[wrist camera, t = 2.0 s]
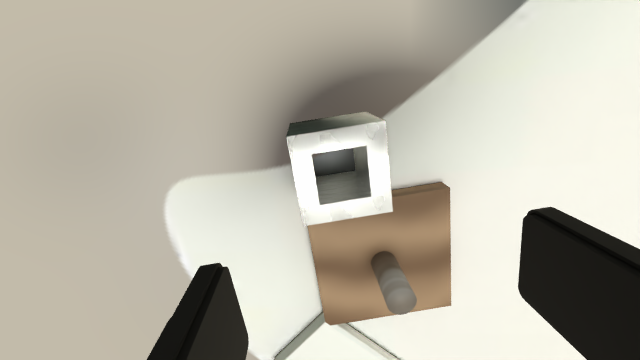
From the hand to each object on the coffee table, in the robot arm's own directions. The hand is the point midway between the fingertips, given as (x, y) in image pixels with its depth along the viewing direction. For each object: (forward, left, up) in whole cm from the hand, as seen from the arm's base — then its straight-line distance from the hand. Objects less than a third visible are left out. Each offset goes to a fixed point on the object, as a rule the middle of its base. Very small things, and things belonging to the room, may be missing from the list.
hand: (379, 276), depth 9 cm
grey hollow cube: (0, 0, -16) cm, 16 cm away
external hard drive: (+22, -2, -16) cm, 28 cm away
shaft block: (+10, +3, -16) cm, 19 cm away
